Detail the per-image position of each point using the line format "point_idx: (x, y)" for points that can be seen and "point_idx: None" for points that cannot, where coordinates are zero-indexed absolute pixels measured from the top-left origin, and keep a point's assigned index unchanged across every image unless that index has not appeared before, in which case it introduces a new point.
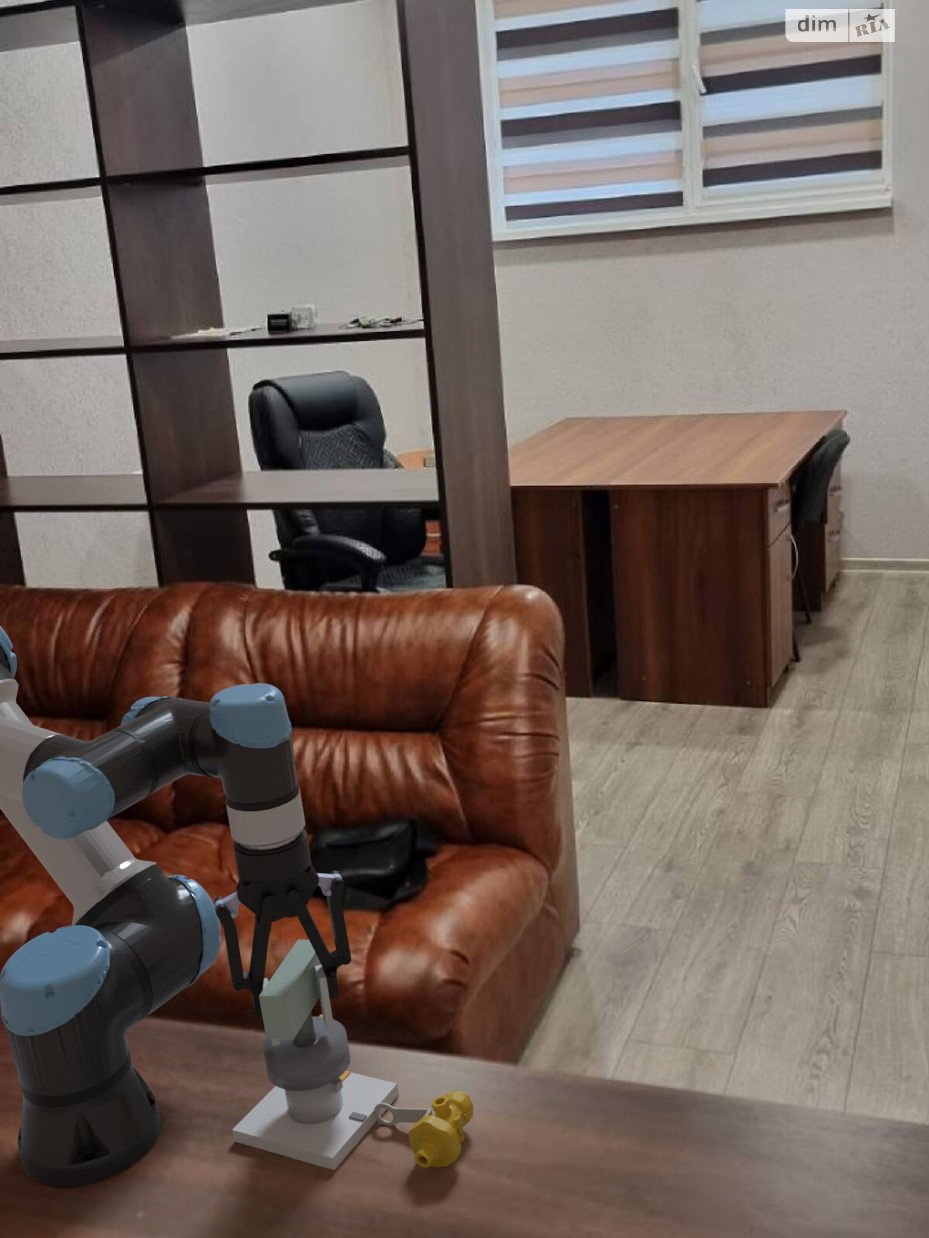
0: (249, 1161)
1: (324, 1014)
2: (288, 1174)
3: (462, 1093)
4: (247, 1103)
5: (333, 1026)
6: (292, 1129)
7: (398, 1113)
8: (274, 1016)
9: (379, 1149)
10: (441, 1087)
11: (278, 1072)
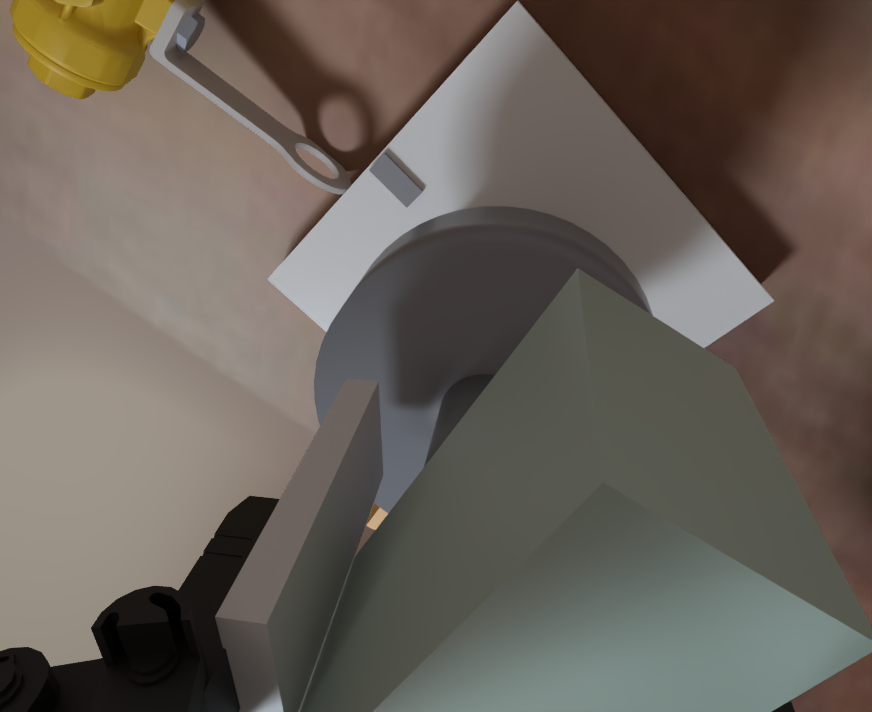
0: (754, 173)
1: (356, 444)
2: (662, 49)
3: (21, 41)
4: None
5: (342, 390)
6: (601, 215)
7: (274, 132)
8: (704, 418)
9: (366, 45)
10: (169, 244)
11: (641, 301)
